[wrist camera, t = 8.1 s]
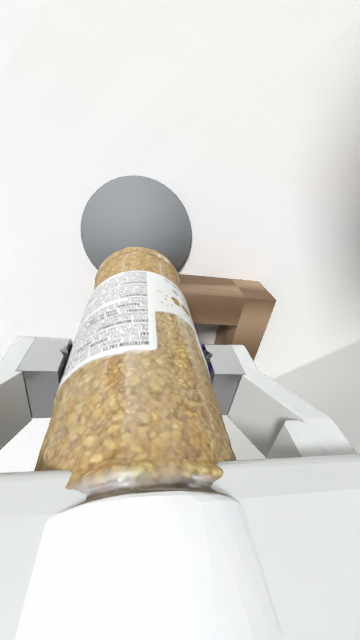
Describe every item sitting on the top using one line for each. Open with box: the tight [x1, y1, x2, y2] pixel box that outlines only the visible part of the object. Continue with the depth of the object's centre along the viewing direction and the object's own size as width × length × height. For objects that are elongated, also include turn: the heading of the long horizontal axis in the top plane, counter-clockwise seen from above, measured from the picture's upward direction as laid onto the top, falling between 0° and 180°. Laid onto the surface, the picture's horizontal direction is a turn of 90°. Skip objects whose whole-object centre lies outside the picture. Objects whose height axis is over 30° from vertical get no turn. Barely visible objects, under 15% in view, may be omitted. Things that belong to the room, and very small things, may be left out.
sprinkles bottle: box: [15, 247, 284, 640], centre depth 9 cm, size 5×5×14 cm
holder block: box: [178, 274, 276, 361], centre depth 26 cm, size 12×12×4 cm
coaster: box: [81, 176, 191, 271], centre depth 22 cm, size 9×9×1 cm
